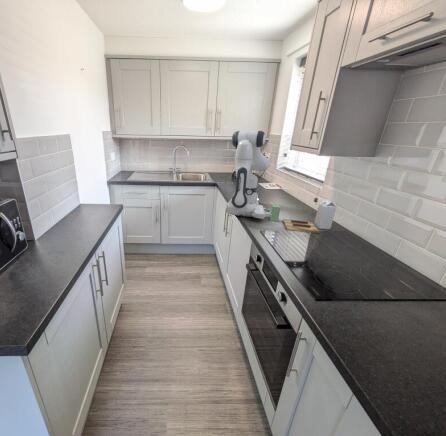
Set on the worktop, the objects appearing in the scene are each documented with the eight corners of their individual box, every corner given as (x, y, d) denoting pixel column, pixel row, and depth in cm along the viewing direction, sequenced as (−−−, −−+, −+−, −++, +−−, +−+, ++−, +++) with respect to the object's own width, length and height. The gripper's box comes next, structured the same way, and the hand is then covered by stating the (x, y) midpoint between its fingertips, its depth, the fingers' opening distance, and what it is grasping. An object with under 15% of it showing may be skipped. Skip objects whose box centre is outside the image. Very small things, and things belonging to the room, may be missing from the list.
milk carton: (324, 225, 152) (332, 197, 145) (330, 229, 145) (338, 200, 139) (313, 224, 152) (320, 197, 146) (318, 229, 146) (326, 200, 139)
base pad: (282, 220, 158) (283, 216, 157) (311, 224, 154) (312, 219, 153) (286, 229, 143) (287, 225, 142) (318, 233, 139) (319, 228, 138)
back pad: (269, 218, 161) (271, 204, 158) (277, 219, 160) (279, 205, 157) (270, 220, 158) (272, 206, 154) (277, 221, 157) (280, 207, 153)
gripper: (251, 210, 150) (273, 213, 147) (250, 202, 169) (270, 204, 166) (249, 219, 153) (271, 222, 150) (249, 210, 171) (268, 212, 168)
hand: (270, 212), depth 158 cm, fingers open, 8 cm apart
